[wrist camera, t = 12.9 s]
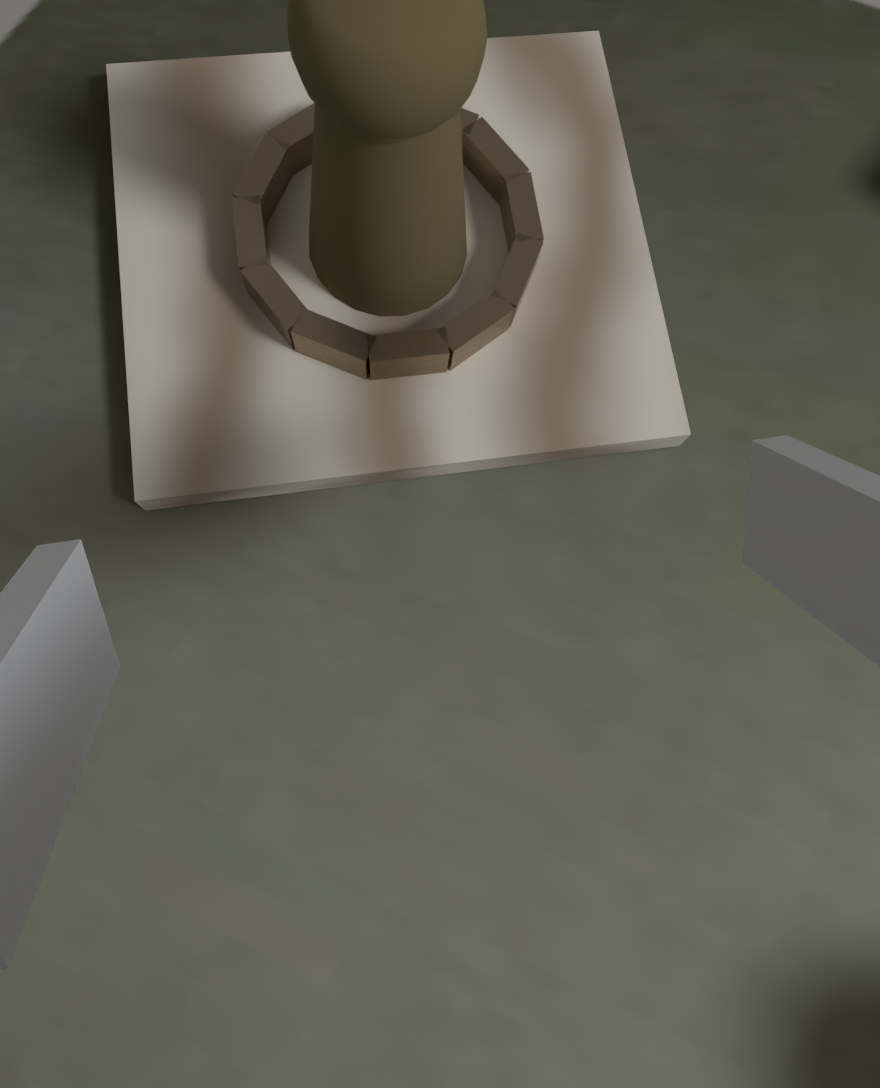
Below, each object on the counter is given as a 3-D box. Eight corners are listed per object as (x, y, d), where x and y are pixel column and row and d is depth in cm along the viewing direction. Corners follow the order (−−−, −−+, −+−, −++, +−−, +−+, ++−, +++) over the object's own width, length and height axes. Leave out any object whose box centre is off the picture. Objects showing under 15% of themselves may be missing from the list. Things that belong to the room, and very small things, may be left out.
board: (145, 510, 27) (134, 501, 26) (116, 88, 31) (106, 63, 30) (679, 445, 29) (690, 434, 28) (591, 55, 33) (598, 30, 32)
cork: (274, 246, 29) (206, -32, 18) (382, 148, 30) (379, -168, 19) (394, 348, 28) (397, 121, 17) (499, 242, 29) (562, -29, 19)
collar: (257, 392, 27) (249, 374, 26) (230, 131, 30) (221, 101, 28) (555, 360, 28) (564, 341, 27) (506, 109, 31) (512, 79, 29)
